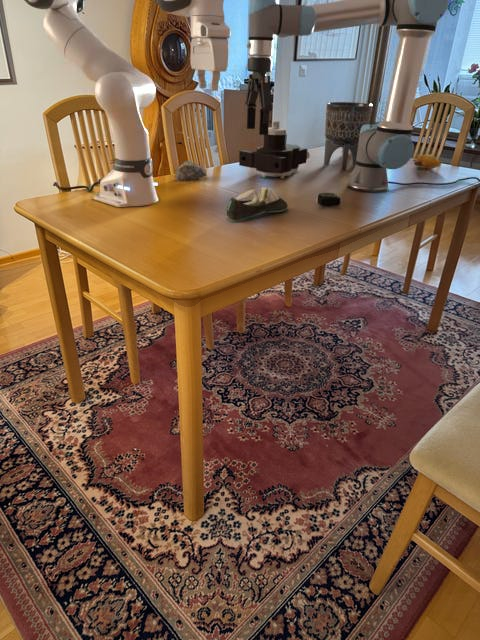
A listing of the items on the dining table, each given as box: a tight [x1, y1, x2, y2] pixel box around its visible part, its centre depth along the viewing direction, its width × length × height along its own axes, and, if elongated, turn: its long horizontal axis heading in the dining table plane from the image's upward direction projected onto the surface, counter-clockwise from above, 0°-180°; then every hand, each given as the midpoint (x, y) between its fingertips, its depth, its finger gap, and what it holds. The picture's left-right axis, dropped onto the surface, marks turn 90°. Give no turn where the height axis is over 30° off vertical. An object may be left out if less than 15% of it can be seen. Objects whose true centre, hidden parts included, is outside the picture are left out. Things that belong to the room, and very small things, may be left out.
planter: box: [323, 101, 374, 172], centre depth 204 cm, size 20×20×26 cm
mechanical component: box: [238, 120, 311, 179], centre depth 191 cm, size 22×21×30 cm
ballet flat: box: [226, 186, 289, 223], centre depth 142 cm, size 8×24×8 cm, turn 131°
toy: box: [412, 154, 442, 170], centre depth 212 cm, size 11×6×15 cm
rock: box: [174, 160, 208, 182], centre depth 182 cm, size 13×9×6 cm, turn 131°
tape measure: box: [317, 192, 342, 208], centre depth 153 cm, size 7×7×4 cm
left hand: (208, 89), depth 126 cm, fingers open, 8 cm apart
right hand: (256, 131), depth 149 cm, fingers open, 13 cm apart
